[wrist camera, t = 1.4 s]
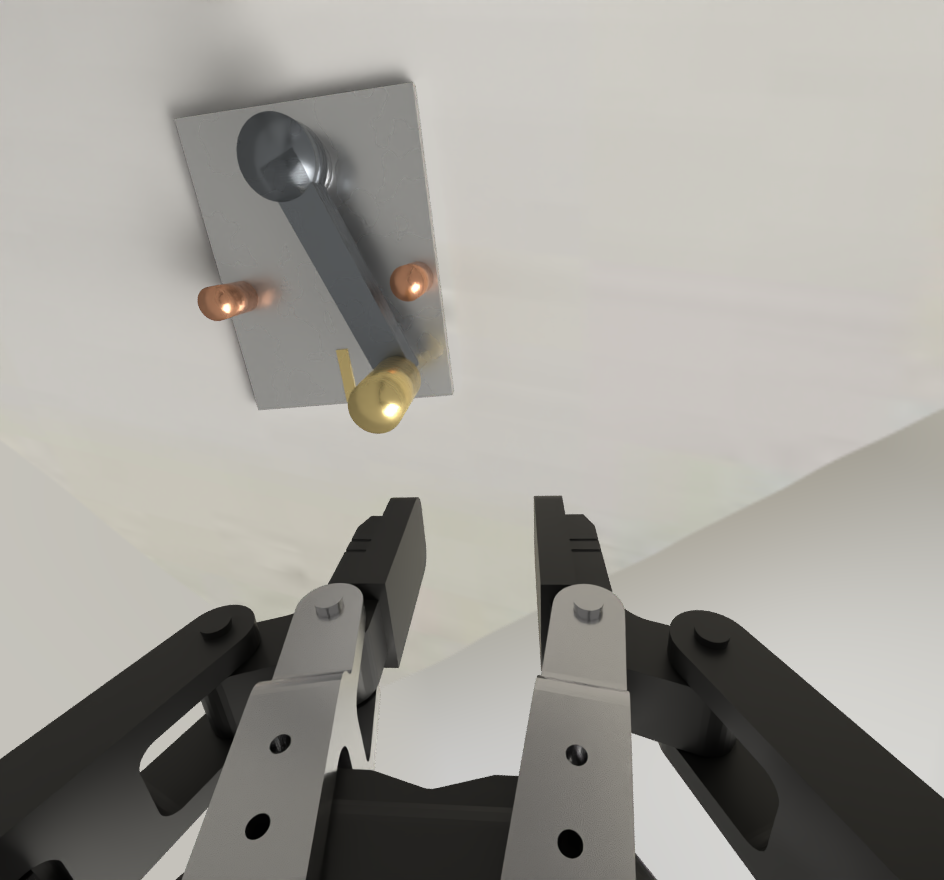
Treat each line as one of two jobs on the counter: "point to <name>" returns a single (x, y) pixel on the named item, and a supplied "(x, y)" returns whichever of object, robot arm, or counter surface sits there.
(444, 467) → the counter surface
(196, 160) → the crank base
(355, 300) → the crank lever
